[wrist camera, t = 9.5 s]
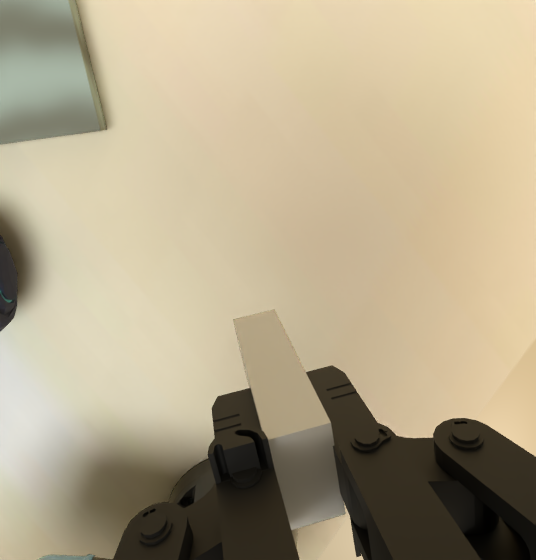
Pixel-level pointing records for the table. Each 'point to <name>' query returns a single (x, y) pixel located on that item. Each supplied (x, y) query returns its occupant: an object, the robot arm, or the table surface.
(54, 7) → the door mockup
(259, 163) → the table surface
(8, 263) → the portable speaker
